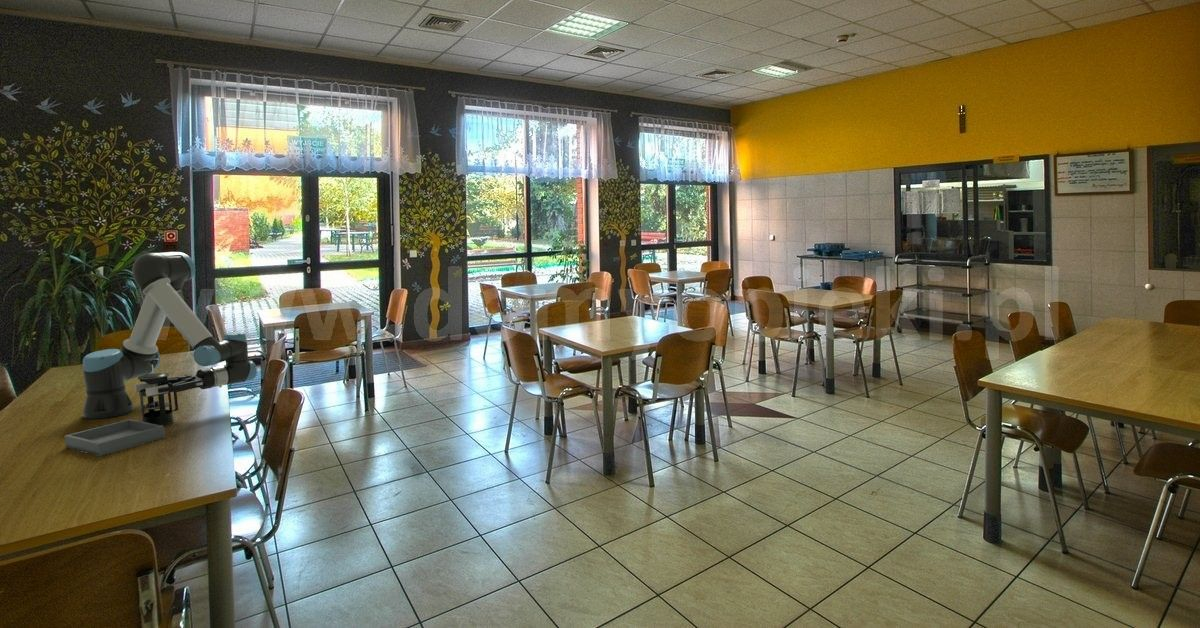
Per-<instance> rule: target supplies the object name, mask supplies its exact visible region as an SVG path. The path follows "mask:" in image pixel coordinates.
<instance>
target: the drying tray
mask: <svg viewBox="0 0 1200 628" xmlns="http://www.w3.org/2000/svg"><path fill="white" fill-rule="evenodd" d="M164 437H165V438H166V433H165V426H164V425H156V424H151V423H147V422H142V420H137V419H131V418H130V419H129V418H128V419H126V420H125V419H124V420H121V421H117V422H114V423H110V424H106V425H102V426H97V427H94V428H90V429H85V430H83V431H78V432H73V433H70V434H65V435H64V443H65V449H69V450H72V449H74V450H73V451H76V450H79V451H78V452H80V451H83V452H82V453H84V452H87V453H86V454H88V453H90V454H89V455H91V454H94V455H93V456H95V455H97V456H96V457H99V456H100V457H103V456H102V455H104V456H106V455H105V454H107V455H110V454H109V453H111V454H114V453H117V452H116V451H118V452H121V451H124V450H123V449H125V450H127V448H128V449H131V448H130V447H132V448H135V447H137V445H138V446H141V445H140V444H142V445H144V444H143V443H145V444H148V443H147V442H149V443H151V442H150V441H152V442H155V441H154V440H156V441H159V440H162V439H161V438H163V439H165V438H164ZM158 439H159V440H158ZM134 446H135V447H134ZM120 450H121V451H120ZM113 452H114V453H113Z"/></svg>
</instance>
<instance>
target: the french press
mask: <svg viewBox="0 0 1200 628" xmlns="http://www.w3.org/2000/svg"><path fill="white" fill-rule="evenodd" d="M156 360H159V359H158V358H150V359H146V360H144V361H150V363H151V365H152V373H149V374H147V375H143V376H140V377H137V380H139V381H140V382H141V383H147V384H154V387H155V384H159V383H163V382H166V381H168V378H169V376H170V373H167V372H158V373H157V372H155V371H154V370H153V364H154V361H156ZM154 372H155V373H154ZM138 393H139V399H140V400H139V401H140V409H141V421H142V422H147V423H151V424H156V425H161V426H164V425H168V424H171V423H173V422H174V421H175V418H174V412H176V411H179V403H178V392H177V393H174V392H173V401H174V408H173V406H172V396H171V395H172V392H168V393H163V394H157V395H152V396H146V389H142V390H140V391H139V392H138ZM165 395H167V398H168V401H165ZM144 397H147V403H146V404H144ZM157 399H158V401H157ZM167 407H169V409H166V408H167ZM146 410H147V411H148V412H145V411H146Z"/></svg>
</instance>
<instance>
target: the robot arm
mask: <svg viewBox="0 0 1200 628" xmlns="http://www.w3.org/2000/svg"><path fill="white" fill-rule="evenodd" d="M131 271H132V277H133V280H134V282H135V284H136V286H137V287H138V288H139V290H140V291H141V292H142V293H143V295H145V297H144V300H143V302H142V305H141V307H140V310H139V312H138V315H137V318H136V321H135V323H134V326H133V328H132V331H131V334H130V336H129V338H127V339H124V340H123V342H122V344H121V347H120V349H118V348H107V349H102V350H97V351H93V352H90V353H87V354H86V355H85V356H84V357H83V358H82V371H83V377H84V385H85V392H86V393H85V394H86V397H85V401H84V405H83V408H82V418H84V419H89V420H91V419H92V420H97V419H107V418H113V417H118V416H121V415H126V414H129V413H131V412H133V411H134V408H135V407H134V403H133V400H131V397H130V396H129V394H128V392H127V389H126V382H125V381H129V380H133V379H138V377H140V376H143V375H147V374H153V372H152V365H151V363H150V361H144V360H146V359H150V358H158V359H159V360H156V361H154V364H153V370H154V372H155V371H156V370H157V369H158V368H159V366H160V362H161V356H160V352H159V347H158V346H157V344H156V343H157V341H158V338H159V336H160V334H161V330H162V328H163V326H164V323H165V320H166V318H167V319H168V320H169V322H171V324H172V325H173V326H174V327H175V329H176V330H177V331H178V332H179V333H180V334H181V335H182V337H183V338H184V339H185V341H187V343H188V344H189V345H190V346H191V348H192V349H193V354H192V357H193V359H194V362H195V363H196V364H197V365H199V366H201V367H205V368H201V369H198V370H197V371H196V374H195V375H194V376H193V374H189V375H187V374H185V375H178V376H172V377H168V381H166V382H163V383H159V384H155V387H154V384H147V383H145V382H141V383H137V384H134V387H135V388H134V389H135V393H139V391H140V390H142V389H146V392H145V393H146V396H152V395H157V394H163V393H167V394H168V392H170V393H173V394H174V393H177V394H178V393H179V392H185V391H188V390H194V389H196V388H199V389H201V390H207V389H212V388H216V387H219V388H222V387H223V386H227V385H231V384H237V383H245V382H247V381H251V380H254V379H255V378H256V377H257V374H258V369H257V367H256V363H255V362H253V360H249V352H248V341H247V340H248V339H247V335H246V333H245V332H241V331H233V332H227V333H225V334H223V340H220V341H218V340H217V339H216V338H215V337H214V336H213V334H212V333H211V332H210V331H209V330H208V328H207V327H206V326H205V325H204V323H203V322H202V321H201V320H200V319H199V317H197V315H196V314H195V313H194V311H193V310H192V309H191V308H190V306H189V305H188V303H186V301H185V300H184V298H182V297H181V296H180V294H179V293H178V292H181V291H182V289H183V286H184V284H185V282H188V281H190V280H191V279H193V277H194V276H195V275H196V265H195V263H194V262H193V259H192V257H190V256H189V255H188V254H186V253H184V252H182V251H173V250H172V251H164V252H146V253H143V254H141V255H140V256H139V257H137V258H136V259H135V261H134V262H133V265H132V268H131ZM223 362H225V363H226V364H225V365H218V366H215V365H217V364H220V363H223ZM210 366H212V367H210ZM206 367H207V368H206ZM208 367H209V368H208ZM146 396H145V397H146Z"/></svg>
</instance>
